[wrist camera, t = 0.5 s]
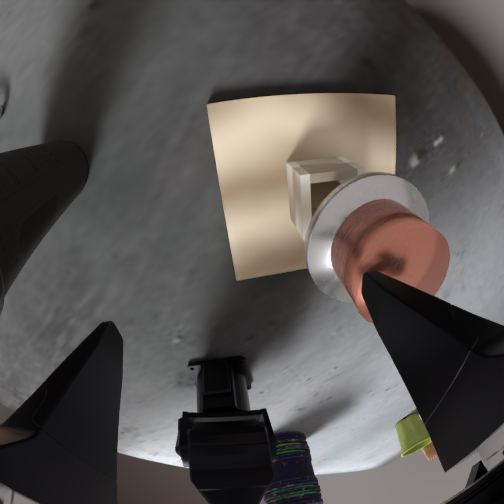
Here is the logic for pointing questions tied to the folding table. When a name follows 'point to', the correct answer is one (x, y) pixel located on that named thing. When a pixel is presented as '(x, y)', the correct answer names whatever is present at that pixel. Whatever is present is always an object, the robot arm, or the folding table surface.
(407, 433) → the plant pot
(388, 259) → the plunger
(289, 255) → the stand
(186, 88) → the folding table surface
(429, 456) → the ammunition clip
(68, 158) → the drinking cup
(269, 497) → the storage jar
